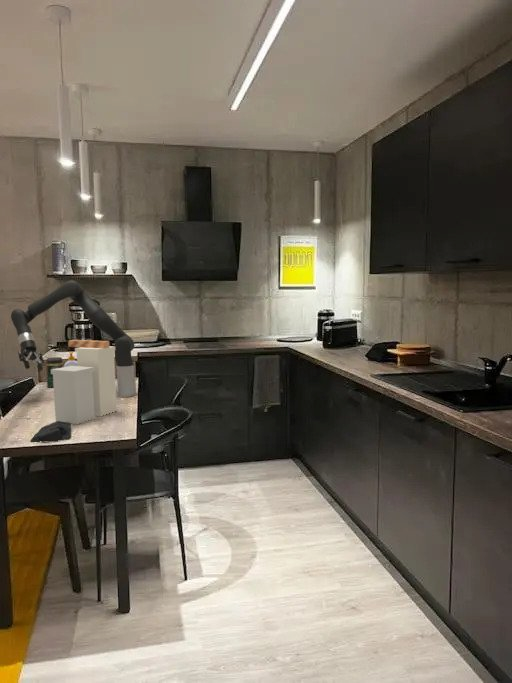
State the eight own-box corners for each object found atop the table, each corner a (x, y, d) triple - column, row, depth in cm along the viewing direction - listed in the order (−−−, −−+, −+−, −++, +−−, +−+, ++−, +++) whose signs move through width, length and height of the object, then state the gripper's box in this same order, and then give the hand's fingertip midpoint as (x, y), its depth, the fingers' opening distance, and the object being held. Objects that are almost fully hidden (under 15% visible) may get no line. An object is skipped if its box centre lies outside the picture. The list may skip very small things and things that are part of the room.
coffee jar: (46, 388, 310) (44, 358, 309) (48, 386, 318) (46, 357, 316) (63, 387, 313) (61, 357, 311) (64, 385, 321) (62, 356, 319)
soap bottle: (65, 391, 300) (62, 353, 298) (65, 389, 307) (63, 351, 305) (81, 390, 303) (79, 352, 301) (81, 388, 310) (79, 351, 308)
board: (68, 346, 247) (68, 340, 247) (74, 345, 251) (74, 339, 250) (103, 348, 238) (103, 341, 237) (109, 347, 241) (109, 341, 241)
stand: (78, 414, 243) (74, 348, 240) (96, 408, 254) (92, 345, 251) (101, 417, 237) (97, 349, 234) (118, 411, 248) (115, 346, 245)
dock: (54, 421, 230) (50, 369, 227) (73, 415, 241) (71, 365, 238) (77, 424, 224) (74, 371, 221) (96, 418, 235) (93, 367, 232)
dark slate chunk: (76, 427, 222) (76, 416, 222) (69, 441, 201) (69, 429, 200) (39, 429, 219) (38, 419, 218) (28, 444, 197) (27, 432, 197)
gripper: (21, 336, 263) (28, 364, 258) (42, 342, 276) (50, 367, 270) (11, 343, 265) (18, 371, 259) (32, 348, 278) (39, 374, 272)
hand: (34, 369), depth 265 cm, fingers open, 8 cm apart
